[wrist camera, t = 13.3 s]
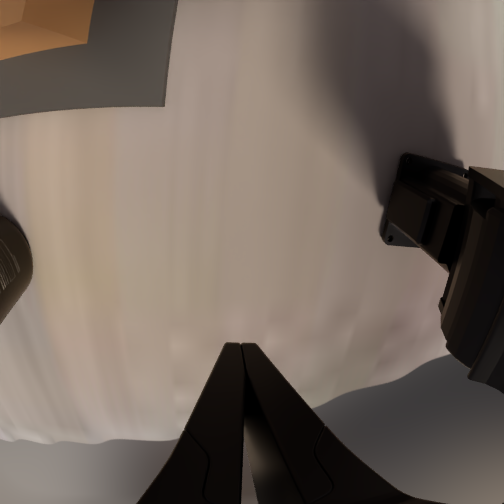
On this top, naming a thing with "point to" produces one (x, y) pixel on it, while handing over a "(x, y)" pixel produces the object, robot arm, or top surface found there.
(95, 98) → the dark gray mat
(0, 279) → the supplement bottle
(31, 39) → the rounded wooden cube
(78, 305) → the top surface
